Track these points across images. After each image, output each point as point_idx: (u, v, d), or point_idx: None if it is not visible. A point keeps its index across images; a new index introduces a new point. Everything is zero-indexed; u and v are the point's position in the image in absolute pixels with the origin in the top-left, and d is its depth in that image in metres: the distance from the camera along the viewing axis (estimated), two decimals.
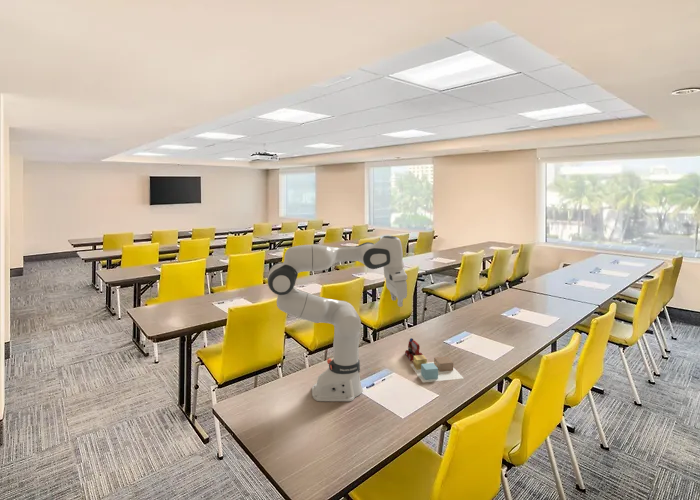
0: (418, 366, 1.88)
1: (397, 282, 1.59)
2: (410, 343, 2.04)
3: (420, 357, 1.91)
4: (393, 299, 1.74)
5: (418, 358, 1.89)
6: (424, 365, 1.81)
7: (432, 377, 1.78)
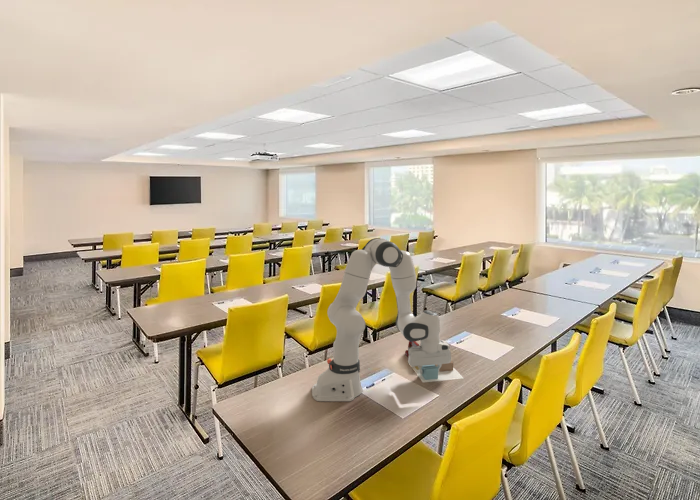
0: None
1: None
2: (410, 343, 2.04)
3: None
4: (423, 372, 1.80)
5: None
6: None
7: (432, 377, 1.78)
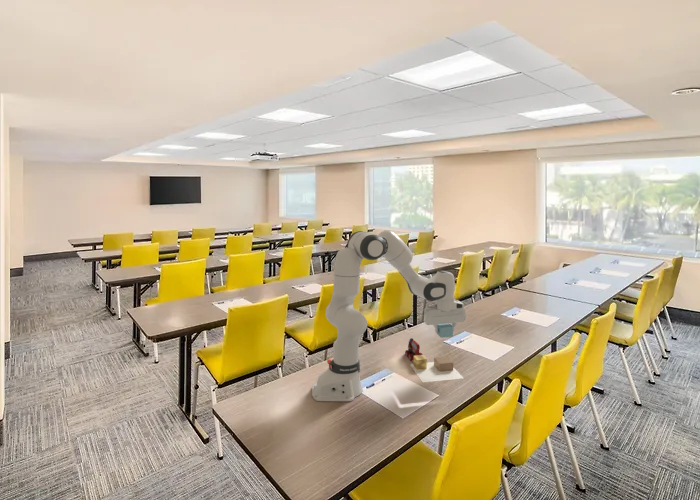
0: (418, 366, 1.88)
1: None
2: (410, 343, 2.04)
3: (420, 357, 1.91)
4: None
5: (418, 358, 1.89)
6: (439, 324, 1.87)
7: (447, 335, 1.84)
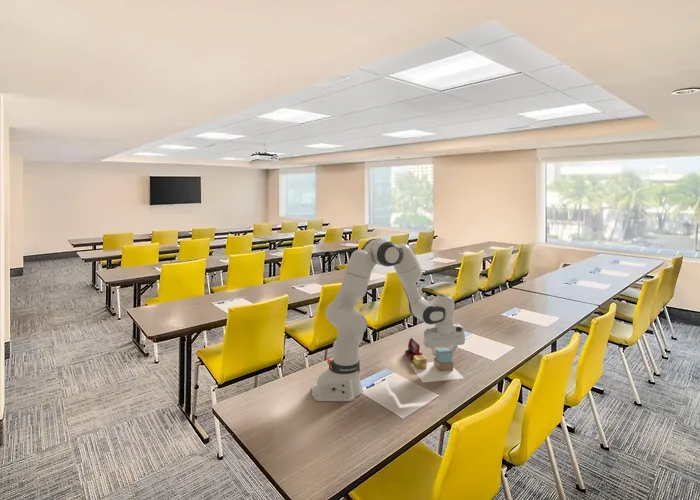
0: (418, 366, 1.88)
1: None
2: (410, 343, 2.04)
3: (420, 357, 1.91)
4: None
5: (418, 358, 1.89)
6: (438, 349, 1.89)
7: (446, 360, 1.86)
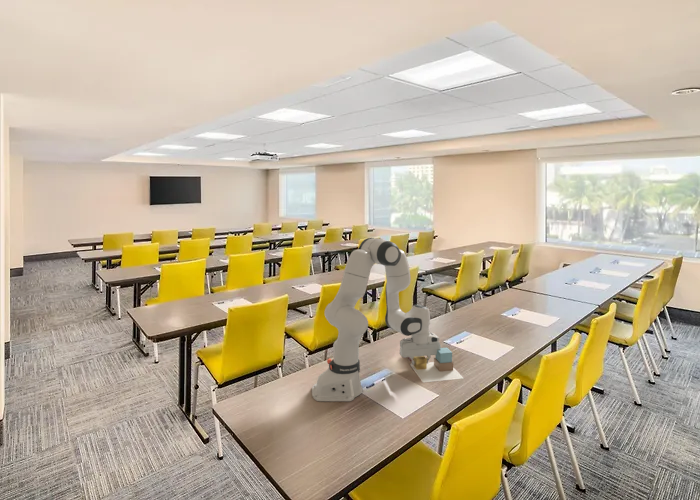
0: (418, 366, 1.88)
1: None
2: None
3: (420, 357, 1.91)
4: (415, 363, 1.90)
5: (418, 358, 1.89)
6: None
7: (446, 360, 1.86)
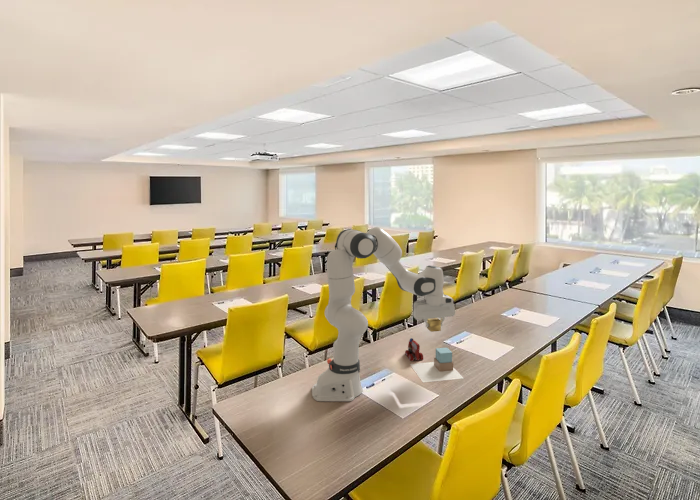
0: (432, 328, 1.85)
1: None
2: (410, 343, 2.04)
3: (434, 319, 1.87)
4: (429, 326, 1.87)
5: (432, 320, 1.86)
6: (438, 349, 1.89)
7: (446, 360, 1.86)
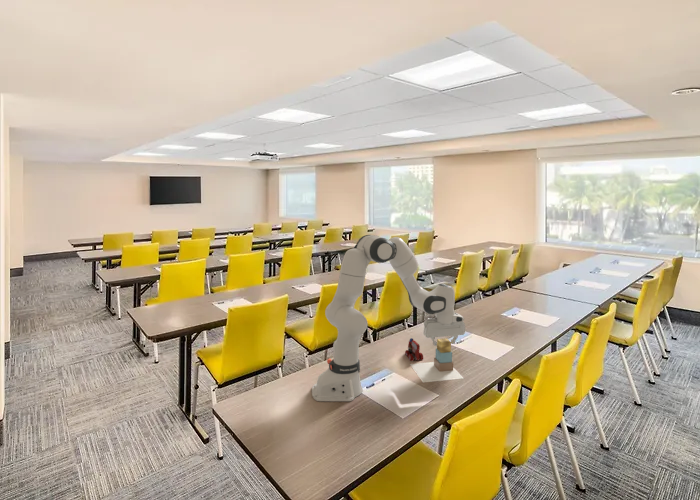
0: (442, 349, 1.86)
1: None
2: (410, 343, 2.04)
3: (444, 340, 1.88)
4: (436, 344, 1.87)
5: (442, 341, 1.87)
6: None
7: (446, 360, 1.86)
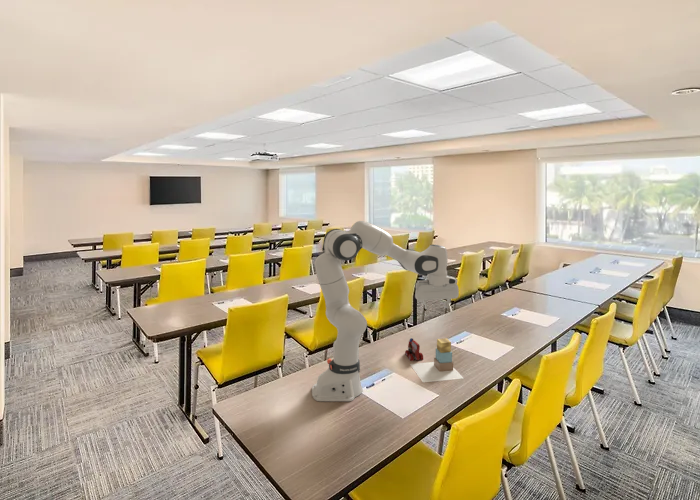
0: (442, 349, 1.86)
1: None
2: (410, 343, 2.04)
3: (444, 340, 1.88)
4: (428, 308, 1.79)
5: (442, 341, 1.87)
6: None
7: (446, 360, 1.86)
